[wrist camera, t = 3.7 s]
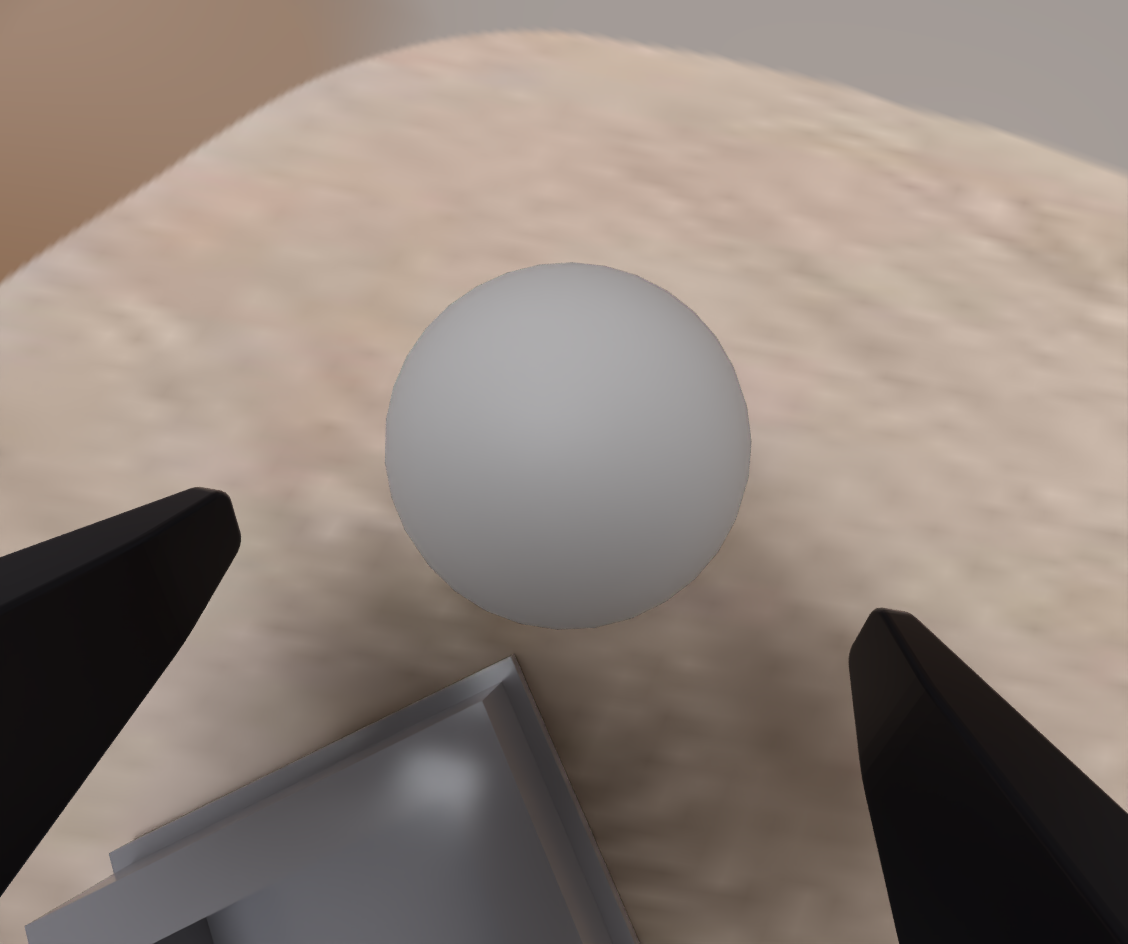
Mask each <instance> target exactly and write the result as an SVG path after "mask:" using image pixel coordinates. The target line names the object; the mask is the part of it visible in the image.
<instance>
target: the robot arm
mask: <svg viewBox="0 0 1128 944" xmlns="http://www.w3.org/2000/svg"><path fill="white" fill-rule="evenodd" d="M240 543H241V533H240V529H239V526H238V523H237V519H236V516H235V512H234V509H233V505H232V502H231V499H230V497H229V496H228V495H227V494H226V493H225V492H223V491H220V490H215V489H209V488H203V487H194V488H190V489H188V490H185V491H182V492H179V493H177V494H174V495H171V496H168V497H166V498H163V499H160V500H157V501H155V502H152V503H149V504H146V505H143V506H141V507H138V508H135V509H132V510H130V511H127V512H124V513H121V514H119V515H116V516H113V517H110V518H108V519H105V520H102V521H99V522H96V523H94V524H91V525H88V526H85V527H83V528H80V529H77V530H74V531H72V532H69V533H66V534H63V535H61V536H58V537H55V538H52V539H50V540H47V541H44V542H41V543H38V544H36V545H33V546H30V547H27V548H25V549H22V550H19V551H16V552H14V553H11V554H8V555H5V556H3V557H0V897H1V895H2V894H3V893H4V891H5V890H6V889H7V887H8V886H9V884H10V883H11V882H12V880H13V879H14V878H15V876H16V875H17V873H18V872H19V871H20V869H21V868H22V867H23V865H24V864H25V862H26V861H27V860H28V858H29V857H30V855H31V854H32V853H33V851H34V850H35V849H36V847H37V846H38V844H39V843H40V842H41V840H42V839H43V838H44V836H45V835H46V833H47V832H48V831H49V829H50V828H51V827H52V825H53V824H54V822H55V821H56V820H57V818H58V817H59V815H60V814H61V813H62V811H63V810H64V809H65V807H66V806H67V804H68V803H69V802H70V800H71V799H72V798H73V796H74V795H75V793H76V792H77V791H78V789H79V788H80V787H81V785H82V784H83V782H84V781H85V780H86V778H87V777H88V775H89V774H90V773H91V771H92V770H93V769H94V767H95V766H96V764H97V763H98V762H99V760H100V759H101V758H102V756H103V755H104V753H105V752H106V751H107V749H108V748H109V747H110V745H111V744H112V742H113V741H114V740H115V738H116V737H117V736H118V734H119V733H120V731H121V730H122V729H123V727H124V726H125V724H126V723H127V722H128V720H129V719H130V718H131V716H132V715H133V713H134V712H135V711H136V709H137V708H138V707H139V705H140V704H141V702H142V701H143V700H144V698H145V697H146V696H147V694H148V693H149V691H150V690H151V689H152V687H153V686H154V684H155V683H156V682H157V680H158V679H159V678H160V676H161V675H162V673H163V672H164V671H165V669H166V668H167V667H168V665H169V664H170V662H171V661H172V660H173V658H174V657H175V655H176V654H177V653H178V651H179V650H180V648H181V647H182V645H183V644H184V642H185V641H186V639H187V637H188V636H189V634H190V633H191V631H192V629H193V628H194V626H195V625H196V623H197V621H198V619H199V618H200V616H201V614H202V613H203V611H204V609H205V607H206V606H207V604H208V602H209V601H210V599H211V597H212V595H213V594H214V592H215V590H216V589H217V587H218V585H219V583H220V582H221V580H222V578H223V577H224V575H225V573H226V571H227V570H228V568H229V566H230V565H231V563H232V561H233V559H234V558H235V556H236V554H237V552H238V550H239V547H240ZM849 672H850V681H851V690H852V699H853V708H854V717H855V726H856V735H857V743H858V752H859V760H860V767H861V775H862V780H863V785H864V790H865V795H866V800H867V804H868V809H869V813H870V817H871V822H872V826H873V831H874V835H875V840H876V844H877V848H878V853H879V857H880V862H881V866H882V870H883V875H884V879H885V884H886V888H887V892H888V897H889V901H890V906H891V910H892V914H893V919H894V923H895V928H896V932H897V936H898V941H899V944H1128V813H1127V812H1126V811H1125V810H1123V809H1122V808H1121V807H1120V806H1119V805H1118V804H1117V803H1116V802H1115V801H1114V800H1113V799H1112V798H1110V797H1109V796H1108V795H1107V794H1106V793H1105V792H1104V791H1103V790H1102V789H1101V788H1100V787H1099V786H1098V785H1096V784H1095V783H1094V782H1093V781H1092V780H1091V779H1090V778H1089V777H1088V776H1087V775H1086V774H1085V773H1083V772H1082V771H1081V770H1080V769H1079V768H1078V767H1077V766H1076V765H1075V764H1074V763H1073V762H1072V761H1070V760H1069V759H1068V758H1067V757H1066V756H1065V755H1064V754H1063V753H1062V752H1061V751H1060V750H1059V749H1057V748H1056V747H1055V746H1054V745H1053V744H1052V743H1051V742H1050V741H1049V740H1048V739H1047V738H1046V737H1045V736H1043V735H1042V734H1041V733H1040V732H1039V731H1038V730H1037V729H1036V728H1035V727H1034V726H1033V725H1032V724H1030V723H1029V722H1028V721H1027V720H1026V719H1025V718H1024V717H1023V716H1022V715H1021V714H1020V713H1019V712H1017V711H1016V710H1015V709H1014V708H1013V707H1012V706H1011V705H1010V704H1009V703H1008V702H1007V701H1006V700H1005V699H1003V698H1002V697H1001V696H1000V695H999V694H998V693H997V692H996V691H995V690H994V689H993V688H992V687H990V686H989V685H988V684H987V683H986V682H985V681H984V680H983V679H982V678H981V677H980V676H979V675H977V674H976V673H975V672H974V671H973V670H972V669H971V668H970V667H969V666H968V665H967V664H966V663H964V662H963V661H962V660H961V659H960V658H959V657H958V656H957V655H956V654H955V653H954V652H953V651H952V650H950V649H949V648H948V647H947V646H946V645H945V644H944V643H943V642H942V641H941V640H940V639H939V638H937V637H936V636H935V635H934V634H933V633H932V632H931V631H930V630H929V629H928V628H927V627H926V626H924V625H923V624H922V623H921V622H920V621H919V620H918V619H917V618H916V617H914V616H913V615H912V614H910V613H908V612H904V611H898V610H893V609H887V608H877V609H875V610H873V611H872V612H871V614H870V615H869V617H868V618H867V620H866V622H865V624H864V625H863V627H862V629H861V631H860V632H859V634H858V636H857V638H856V640H855V641H854V643H853V645H852V647H851V650H850V653H849Z"/></svg>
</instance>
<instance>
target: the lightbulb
mask: <svg viewBox="0 0 1128 944" xmlns="http://www.w3.org/2000/svg"><path fill="white" fill-rule="evenodd" d="M750 453H751V434H750V426H749V418H748V409H747V405H746V402H745V399H744V396H743V393H742V390H741V387H740V384H739V381H738V378H737V375H736V372H735V370H734V367H733V365H732V363H731V361H730V360H729V358H728V356H727V354H726V353H725V351H724V349H723V347H722V346H721V344H720V342H719V341H718V339H717V337H716V336H715V335H714V333H713V332H712V331H711V330H710V329H709V328H708V327H707V326H706V324H705V323H704V322H703V321H702V320H701V319H700V318H699V316H698V315H697V314H696V313H695V312H694V311H693V310H692V309H690V308H689V307H688V306H687V305H685V304H684V303H683V302H681V301H680V300H679V299H677V298H676V297H675V296H674V295H672V294H671V293H670V292H668V291H667V290H665V289H663V288H661V287H659V286H657V285H655V284H653V283H651V282H649V281H647V280H645V279H643V278H642V277H640V276H637V275H634V274H631V273H627V272H624V271H621V270H617V269H614V268H611V267H607V266H601V265H592V264H582V263H573V262H571V263H557V264H542V265H536V266H532V267H528V268H524V269H520V270H516V271H512V272H508V273H505V274H503V275H501V276H499V277H496V278H494V279H492V280H490V281H488V282H485V283H483V284H481V285H479V286H476V287H475V288H474V289H472V290H471V291H469V292H468V293H466V294H465V295H463V296H462V297H460V298H459V299H458V300H456V301H455V302H453V303H452V304H450V305H449V306H448V307H447V308H446V309H445V310H444V311H443V312H442V313H441V314H440V315H439V316H438V317H437V318H436V319H435V320H434V321H433V322H432V323H431V324H430V325H429V326H428V327H427V328H426V329H425V330H424V332H423V333H422V335H421V336H420V338H419V339H418V341H417V342H416V343H415V345H414V346H413V348H412V349H411V351H410V352H409V354H408V355H407V357H406V359H405V361H404V364H403V366H402V368H401V370H400V373H399V375H398V377H397V380H396V382H395V384H394V387H393V391H392V395H391V400H390V404H389V409H388V413H387V418H386V443H385V465H386V470H387V476H388V481H389V487H390V492H391V497H392V500H393V502H394V505H395V507H396V510H397V512H398V514H399V517H400V519H401V522H402V524H403V527H404V529H405V531H406V532H407V534H408V535H409V537H410V538H411V540H412V541H413V543H414V544H415V546H416V547H417V549H418V550H419V552H420V553H421V555H422V556H423V558H424V559H425V561H426V562H427V564H428V565H429V566H430V567H431V568H432V569H433V570H434V571H435V572H436V573H437V574H438V575H439V576H440V577H441V578H442V579H443V580H444V581H445V582H446V583H447V584H448V585H449V586H450V587H451V588H452V589H453V590H454V591H456V592H457V593H459V594H460V595H462V596H463V597H465V598H467V599H468V600H470V601H471V602H473V603H475V604H476V605H478V606H479V607H481V608H482V609H484V610H486V611H488V612H491V613H493V614H496V615H499V616H501V617H504V618H507V619H509V620H512V621H515V622H517V623H520V624H525V625H532V626H538V627H544V628H551V629H557V630H559V629H580V628H596V627H600V626H604V625H608V624H612V623H616V622H620V621H623V620H627V619H631V618H633V617H635V616H638V615H640V614H642V613H644V612H646V611H648V610H650V609H652V608H654V607H656V606H658V605H660V604H662V603H664V602H666V601H667V600H668V599H670V598H671V597H672V596H674V595H675V594H676V593H677V592H679V591H680V590H681V589H683V588H684V587H685V586H687V585H688V584H689V583H690V582H692V581H693V580H694V579H695V578H696V577H697V576H698V575H699V573H700V572H701V571H702V570H703V569H704V568H705V566H706V565H707V564H708V563H709V562H710V561H711V559H712V558H713V557H714V556H715V555H716V554H717V552H718V551H719V549H720V547H721V546H722V544H723V542H724V540H725V538H726V537H727V535H728V533H729V531H730V529H731V527H732V526H733V524H734V522H735V520H736V517H737V514H738V510H739V507H740V504H741V501H742V497H743V494H744V491H745V487H746V484H747V481H748V477H749V465H750Z"/></svg>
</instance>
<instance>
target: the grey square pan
mask: <svg viewBox="0 0 1128 944" xmlns="http://www.w3.org/2000/svg"><path fill="white" fill-rule="evenodd" d="M109 856H110V860H111V864H112V868H113V872H114V874H113V875H111V876H109V877H108V878H106V879H104V880H102V881H101V882H99V883H97V884H96V885H94V886H92V887H90V888H89V889H87V890H85V891H84V892H82V893H80V894H79V895H77V896H75V897H73V898H72V899H70V900H68V901H67V902H65V903H63V904H62V905H60V906H58V907H56V908H55V909H53V910H51V911H50V912H48V913H46V914H44V915H43V916H41V917H39V918H38V919H36V920H34V921H33V922H31V923H29V924H27V925H26V926H25V930H26V934H27V939H28V943H29V944H640V942H639V940H638V938H637V935H636V933H635V931H634V928H633V926H632V924H631V921H630V919H629V917H628V915H627V912H626V910H625V908H624V905H623V903H622V901H621V898H620V896H619V894H618V892H617V889H616V887H615V885H614V882H613V880H612V878H611V875H610V873H609V871H608V869H607V866H606V864H605V862H604V859H603V857H602V855H601V852H600V850H599V848H598V846H597V843H596V841H595V839H594V836H593V834H592V832H591V829H590V827H589V825H588V823H587V820H586V818H585V816H584V813H583V811H582V809H581V806H580V804H579V802H578V800H577V797H576V795H575V793H574V790H573V788H572V786H571V783H570V781H569V779H568V777H567V774H566V772H565V770H564V767H563V765H562V763H561V760H560V758H559V756H558V754H557V751H556V749H555V747H554V744H553V742H552V740H551V737H550V735H549V733H548V731H547V728H546V726H545V724H544V721H543V719H542V717H541V714H540V712H539V710H538V708H537V705H536V703H535V701H534V698H533V696H532V694H531V691H530V689H529V687H528V685H527V682H526V680H525V678H524V675H523V673H522V671H521V668H520V666H519V664H518V662H517V659H516V657H515V655H514V654H513V655H511V656H509V657H507V658H505V659H502V660H500V661H498V662H496V663H494V664H492V665H490V666H488V667H486V668H484V669H482V670H480V671H478V672H476V673H474V674H472V675H470V676H468V677H466V678H464V679H462V680H460V681H458V682H455V683H453V684H451V685H449V686H447V687H445V688H443V689H441V690H439V691H437V692H435V693H433V694H431V695H429V696H427V697H425V698H423V699H421V700H419V701H417V702H415V703H413V704H411V705H409V706H406V707H404V708H402V709H400V710H398V711H396V712H394V713H392V714H390V715H388V716H386V717H384V718H382V719H380V720H378V721H376V722H374V723H372V724H370V725H368V726H366V727H364V728H362V729H359V730H357V731H355V732H353V733H351V734H349V735H347V736H345V737H343V738H341V739H339V740H337V741H335V742H333V743H331V744H329V745H327V746H325V747H323V748H321V749H319V750H317V751H315V752H312V753H310V754H308V755H306V756H304V757H302V758H300V759H298V760H296V761H294V762H292V763H290V764H288V765H286V766H284V767H282V768H280V769H278V770H276V771H274V772H272V773H270V774H268V775H266V776H263V777H261V778H259V779H257V780H255V781H253V782H251V783H249V784H247V785H245V786H243V787H241V788H239V789H237V790H235V791H233V792H231V793H229V794H227V795H225V796H223V797H221V798H219V799H216V800H214V801H212V802H210V803H208V804H206V805H204V806H202V807H200V808H198V809H196V810H194V811H192V812H190V813H188V814H186V815H184V816H182V817H180V818H178V819H176V820H174V821H172V822H170V823H167V824H165V825H163V826H161V827H159V828H157V829H155V830H153V831H151V832H149V833H147V834H145V835H143V836H141V837H139V838H137V839H135V840H133V841H131V842H129V843H127V844H125V845H123V846H121V847H120V848H118V849H116V850H114V851H112V852H110V853H109Z"/></svg>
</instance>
